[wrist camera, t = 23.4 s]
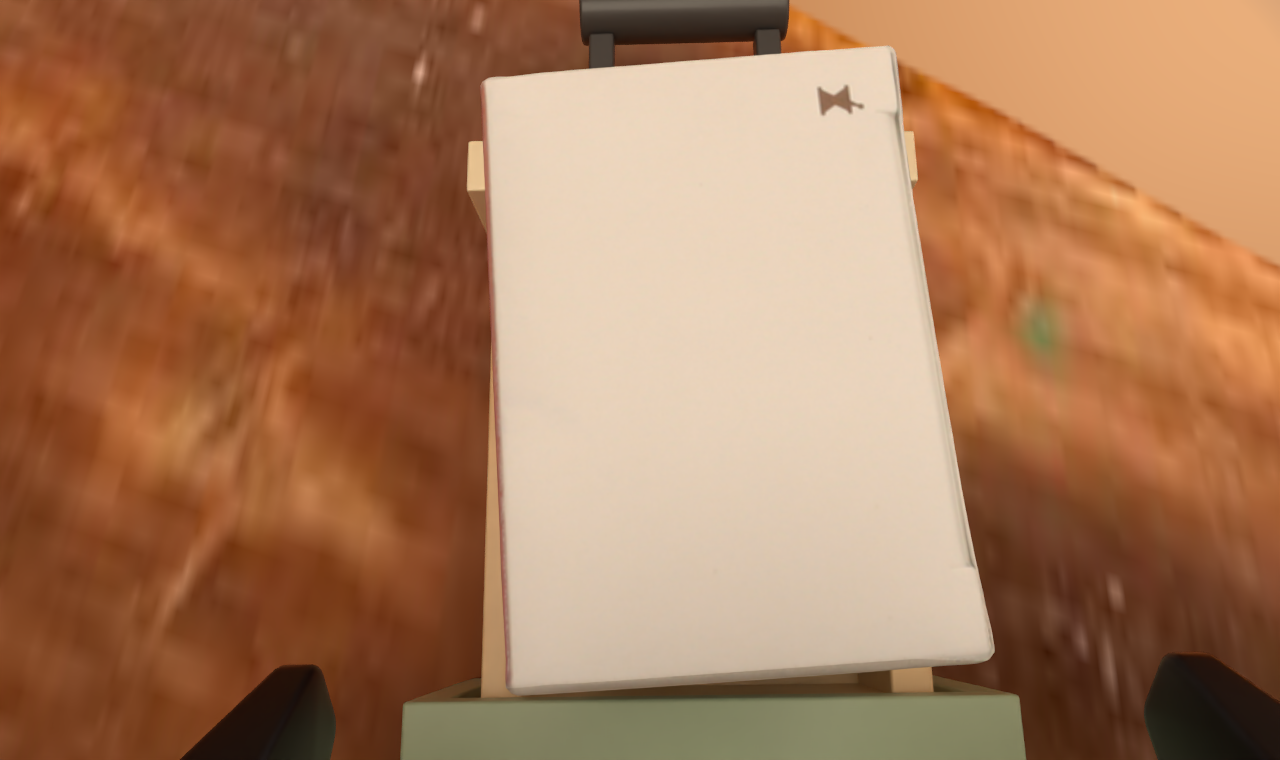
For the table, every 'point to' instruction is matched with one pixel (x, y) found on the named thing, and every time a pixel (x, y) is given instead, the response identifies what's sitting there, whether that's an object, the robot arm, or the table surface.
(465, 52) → the table surface
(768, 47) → the drawer
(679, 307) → the small box
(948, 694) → the cabinet
